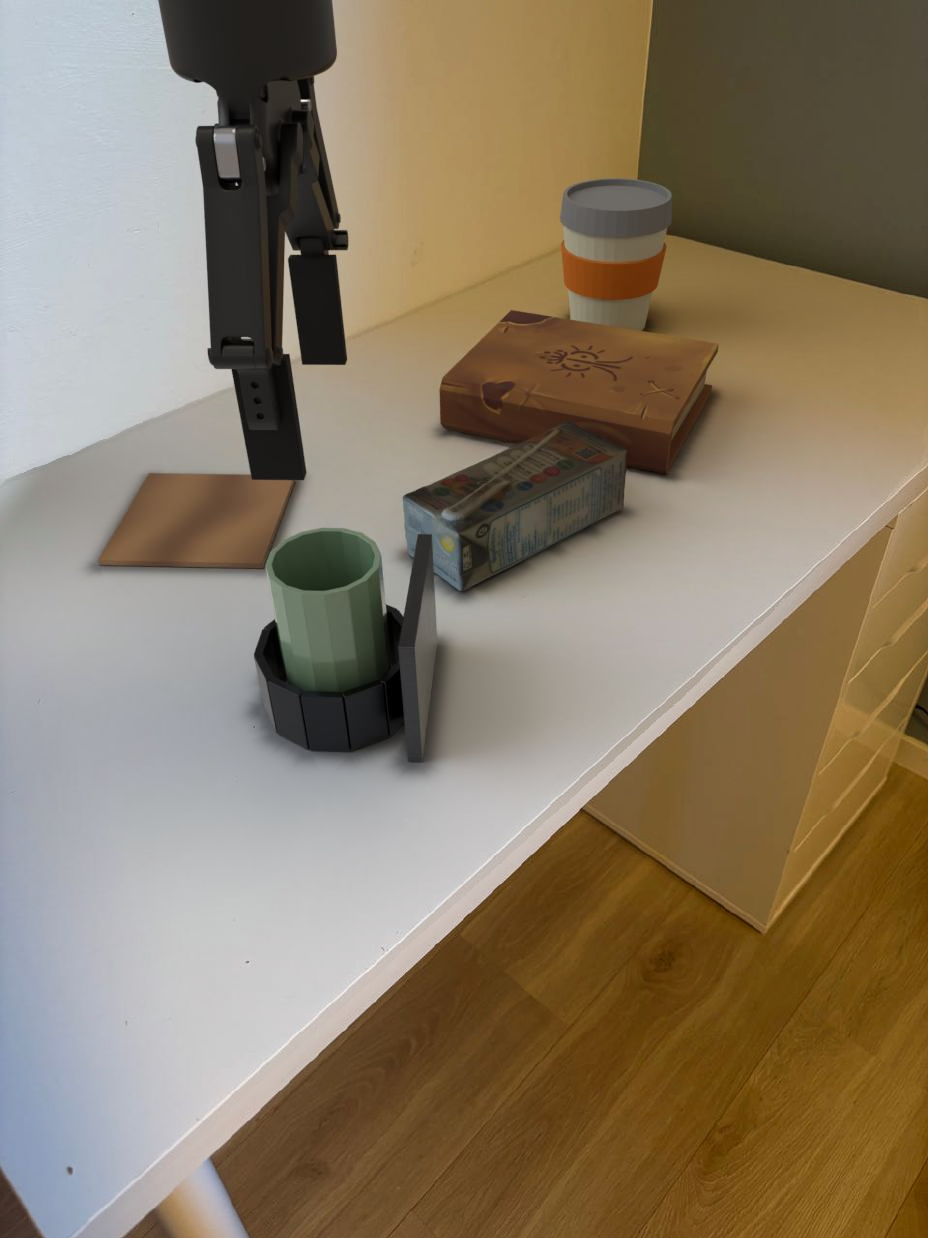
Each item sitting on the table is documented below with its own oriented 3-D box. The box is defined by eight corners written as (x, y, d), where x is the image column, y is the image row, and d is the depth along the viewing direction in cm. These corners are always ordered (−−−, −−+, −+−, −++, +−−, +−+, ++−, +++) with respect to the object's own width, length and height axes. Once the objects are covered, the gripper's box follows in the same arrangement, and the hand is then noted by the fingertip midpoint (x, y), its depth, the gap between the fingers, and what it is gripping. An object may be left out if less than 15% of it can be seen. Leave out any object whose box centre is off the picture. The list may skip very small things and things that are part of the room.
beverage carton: (401, 552, 84) (396, 485, 80) (566, 475, 93) (569, 412, 89) (459, 597, 79) (458, 527, 75) (628, 511, 88) (635, 445, 84)
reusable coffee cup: (650, 350, 114) (664, 215, 104) (544, 338, 117) (548, 206, 108) (667, 308, 123) (682, 181, 114) (568, 298, 126) (574, 174, 117)
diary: (440, 433, 100) (438, 380, 96) (510, 359, 113) (510, 309, 109) (664, 478, 92) (671, 422, 89) (711, 393, 105) (719, 341, 102)
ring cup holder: (249, 756, 66) (223, 643, 60) (285, 640, 75) (266, 530, 69) (422, 762, 66) (414, 647, 59) (437, 643, 75) (432, 533, 68)
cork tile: (99, 565, 84) (97, 559, 83) (150, 478, 94) (148, 472, 94) (263, 568, 83) (262, 562, 82) (295, 480, 93) (294, 474, 93)
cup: (281, 731, 68) (254, 593, 60) (301, 661, 74) (279, 526, 66) (386, 734, 68) (372, 595, 60) (398, 664, 73) (386, 528, 65)
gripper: (264, 13, 33) (333, 540, 46) (368, -63, 52) (395, 325, 66) (45, 17, 34) (176, 537, 47) (228, -59, 53) (283, 325, 66)
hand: (304, 414), depth 56 cm, fingers open, 13 cm apart
